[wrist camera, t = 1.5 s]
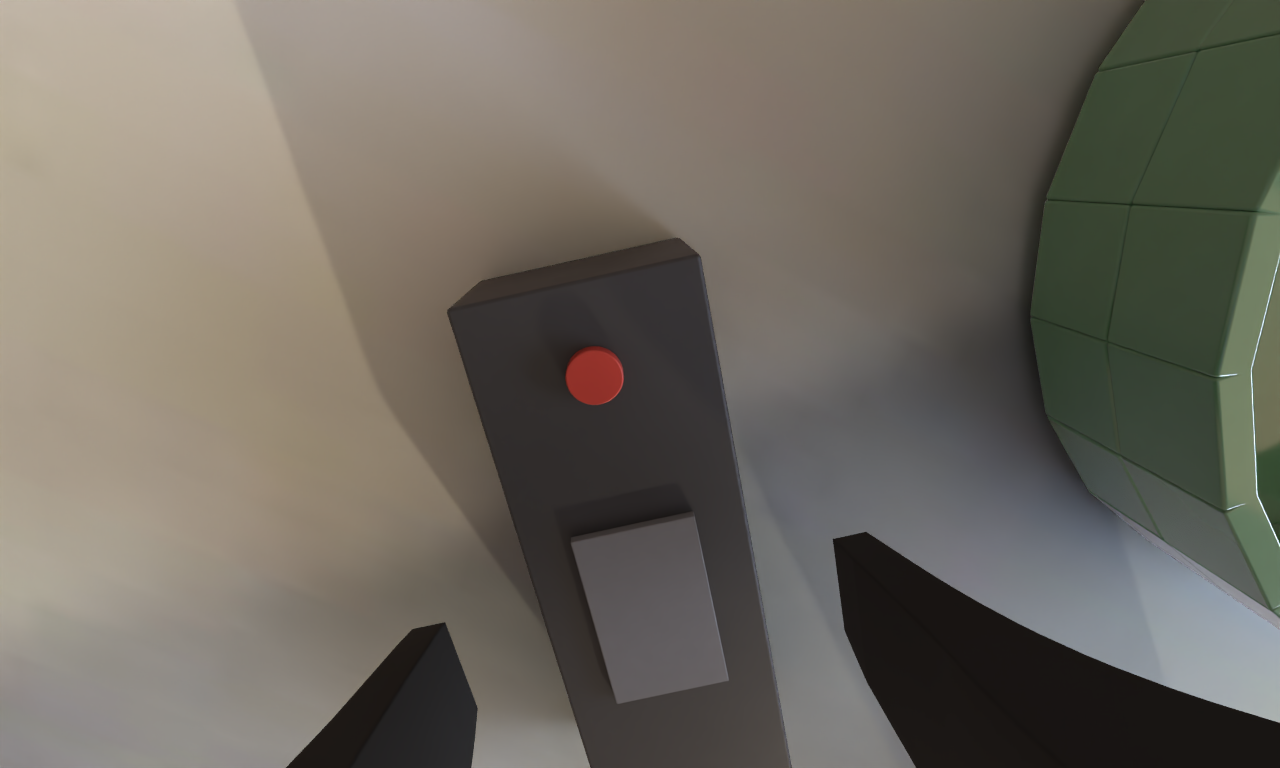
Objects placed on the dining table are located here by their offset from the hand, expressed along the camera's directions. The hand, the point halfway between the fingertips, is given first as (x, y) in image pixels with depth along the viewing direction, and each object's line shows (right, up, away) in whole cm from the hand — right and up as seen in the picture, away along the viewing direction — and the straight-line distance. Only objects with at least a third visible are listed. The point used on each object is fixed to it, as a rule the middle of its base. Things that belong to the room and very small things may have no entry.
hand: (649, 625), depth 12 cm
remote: (0, +1, +4) cm, 4 cm away
